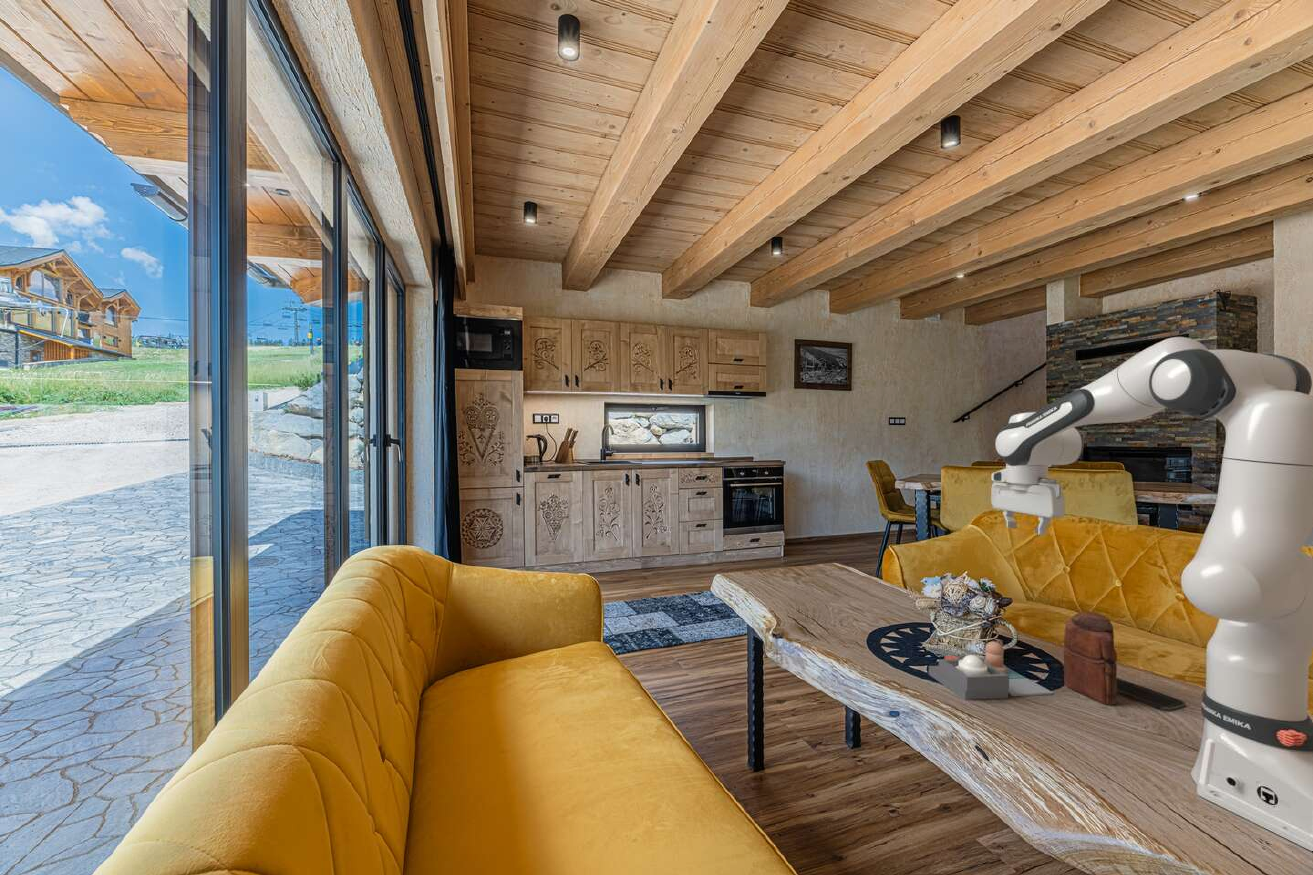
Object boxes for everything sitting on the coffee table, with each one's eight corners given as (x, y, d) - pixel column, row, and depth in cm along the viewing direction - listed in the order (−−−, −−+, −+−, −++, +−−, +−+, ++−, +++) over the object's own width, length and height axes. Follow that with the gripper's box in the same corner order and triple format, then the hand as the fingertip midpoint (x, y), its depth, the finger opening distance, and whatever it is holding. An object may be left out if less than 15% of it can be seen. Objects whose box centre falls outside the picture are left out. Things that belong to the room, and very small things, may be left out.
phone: (1165, 708, 116) (1087, 679, 130) (1165, 714, 116) (1087, 684, 130) (1188, 702, 119) (1109, 674, 133) (1188, 708, 119) (1109, 679, 133)
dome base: (1009, 698, 121) (1009, 675, 121) (966, 700, 120) (966, 677, 120) (967, 673, 134) (968, 652, 134) (928, 674, 133) (929, 653, 133)
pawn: (1010, 675, 133) (1011, 645, 133) (992, 675, 132) (992, 645, 132) (996, 667, 137) (996, 638, 137) (978, 667, 137) (978, 638, 137)
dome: (998, 685, 122) (998, 661, 122) (968, 686, 121) (969, 662, 122) (976, 672, 129) (976, 649, 129) (948, 673, 128) (948, 650, 128)
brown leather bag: (1130, 704, 119) (1131, 619, 120) (1106, 707, 118) (1107, 621, 118) (1077, 681, 131) (1078, 603, 131) (1055, 683, 130) (1056, 605, 130)
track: (1053, 694, 124) (1053, 692, 124) (1011, 696, 122) (1011, 694, 122) (1001, 666, 139) (1001, 664, 139) (964, 667, 138) (964, 665, 138)
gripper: (1073, 479, 131) (1072, 538, 131) (1008, 474, 152) (1007, 525, 152) (1048, 479, 131) (1047, 538, 131) (986, 473, 151) (986, 525, 151)
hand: (1025, 531), depth 141 cm, fingers open, 8 cm apart
